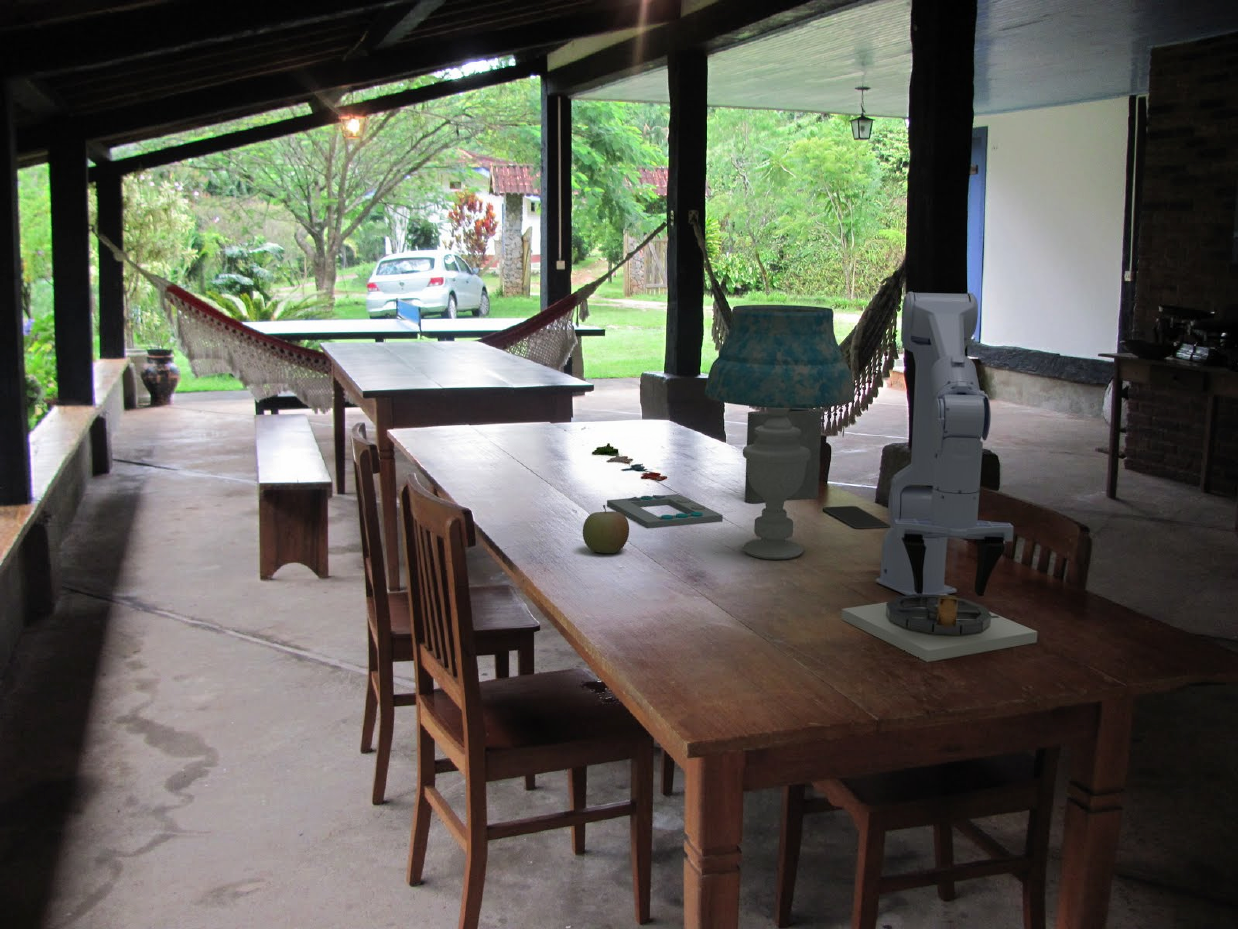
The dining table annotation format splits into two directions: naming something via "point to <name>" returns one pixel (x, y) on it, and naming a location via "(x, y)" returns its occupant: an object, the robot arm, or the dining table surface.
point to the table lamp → (779, 401)
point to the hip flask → (808, 438)
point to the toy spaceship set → (636, 467)
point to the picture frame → (648, 520)
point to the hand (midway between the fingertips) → (948, 592)
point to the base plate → (938, 645)
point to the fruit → (606, 531)
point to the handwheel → (938, 614)
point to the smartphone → (855, 517)
